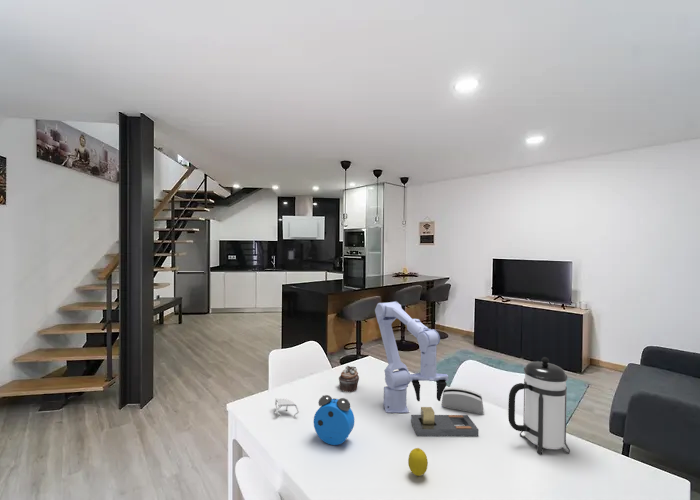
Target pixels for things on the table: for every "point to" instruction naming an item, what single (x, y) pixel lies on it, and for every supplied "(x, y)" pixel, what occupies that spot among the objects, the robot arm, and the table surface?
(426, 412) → the brass peg
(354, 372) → the cupcake
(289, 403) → the miniature table
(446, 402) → the grey rounded block
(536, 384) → the coffee press
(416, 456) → the lemon
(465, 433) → the rail plate
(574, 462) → the table surface
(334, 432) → the alarm clock
